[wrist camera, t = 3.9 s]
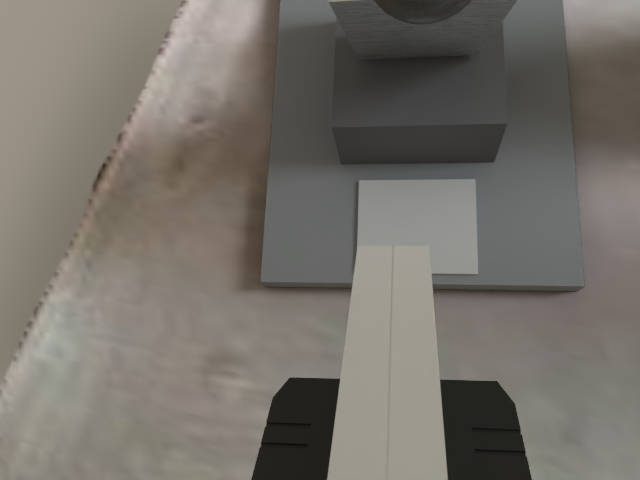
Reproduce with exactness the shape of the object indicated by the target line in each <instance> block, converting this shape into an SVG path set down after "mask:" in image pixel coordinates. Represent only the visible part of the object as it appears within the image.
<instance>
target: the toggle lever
mask: <svg viewBox="0 0 640 480" xmlns="http://www.w3.org/2000/svg"><path fill="white" fill-rule="evenodd" d="M516 2H517V0H329V4H330V6H331V8H332V10H333V12H334V14H335V15H336V17H337V19H338V21H339V23H340V25H341V27H342V29H343V31H344V33H345V35H346V37H347V39H348V40H349V42H350V44H351V46H352V48H353V50H354V52H355V54H356V56H357V58H358V60H359V59H385V58H411V57H437V56H463V55H479V54H480V53H481V51H482V50H483V48H484V47H485V46H486V44H487V43H488V41H489V40H490V39H491V37H492V36H493V34H494V33H495V32H496V30H497V29H498V27H499V26H500V24H501V23H502V22H503V20H504V19H505V17H506V16H507V15H508V13H509V12H510V10H511V9H512V7H513V6H514V5H515V3H516Z"/></svg>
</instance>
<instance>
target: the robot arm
mask: <svg viewBox="0 0 640 480" xmlns="http://www.w3.org/2000/svg"><path fill="white" fill-rule="evenodd" d="M252 480H532V479H531V474H530V470H529V465H528V461H527V457H526V456H525V447H524V443H523V439H522V435H521V433H520V425H519V421H518V416H517V412H516V407H515V404H514V402H513V401H512V400H511V398H510V397H509V396H508V395H507V393H506V392H505V391H504V390H503V388H502V387H501V386H500V385H499V383H498V382H497V381H466V380H440V374H439V362H438V349H437V336H436V324H435V311H434V298H433V286H432V273H431V261H430V248H429V246H357V254H356V262H355V269H354V277H353V285H352V292H351V300H350V308H349V315H348V323H347V331H346V338H345V346H344V354H343V361H342V369H341V377H340V379H322V378H289V379H288V380H287V382H286V383H285V384H284V385H283V386H282V388H281V389H280V390H279V391H278V392H277V394H276V395H275V396H274V397H273V399H272V403H271V407H270V411H269V415H268V419H267V426H266V427H265V430H264V434H263V438H262V442H261V447H260V449H259V453H258V457H257V461H256V464H255V468H254V472H253V476H252Z"/></svg>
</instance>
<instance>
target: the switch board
mask: <svg viewBox="0 0 640 480" xmlns="http://www.w3.org/2000/svg"><path fill="white" fill-rule="evenodd" d="M357 246H429V248H430V261H431V273H432V286H433V289H466V290H535V291H579V290H580V289H582V288H583V287H584V286H585V284H584V271H583V258H582V245H581V233H580V220H579V207H578V194H577V181H576V168H575V155H574V142H573V129H572V117H571V104H570V91H569V78H568V65H567V52H566V39H565V26H564V13H563V1H562V0H517V2H516V3H515V5H514V6H513V7H512V9H511V10H510V12H509V13H508V15H507V16H506V17H505V19H504V20H503V22H502V23H501V24H500V26H499V27H498V29H497V30H496V32H495V33H494V34H493V36H492V37H491V39H490V40H489V41H488V43H487V44H486V46H485V47H484V48H483V50H482V51H481V53H480V54H479V55H463V56H437V57H411V58H385V59H359V60H358V58H357V56H356V54H355V52H354V50H353V48H352V46H351V44H350V42H349V40H348V39H347V37H346V35H345V33H344V31H343V29H342V27H341V25H340V23H339V21H338V19H337V17H336V15H335V14H334V12H333V10H332V8H331V6H330V4H329V0H280V12H279V26H278V40H277V54H276V68H275V82H274V96H273V110H272V124H271V138H270V152H269V166H268V180H267V194H266V208H265V222H264V236H263V250H262V264H261V279H260V282H261V283H262V284H263V285H264V286H265V287H329V288H352V285H353V277H354V269H355V262H356V254H357Z"/></svg>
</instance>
